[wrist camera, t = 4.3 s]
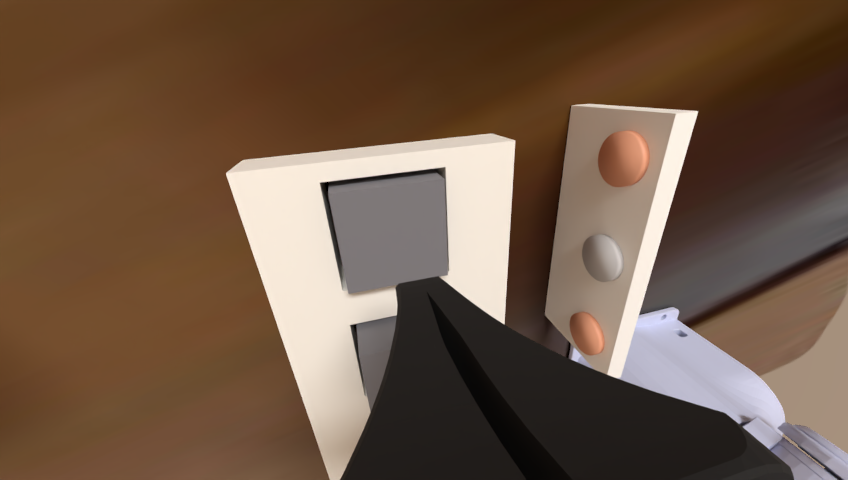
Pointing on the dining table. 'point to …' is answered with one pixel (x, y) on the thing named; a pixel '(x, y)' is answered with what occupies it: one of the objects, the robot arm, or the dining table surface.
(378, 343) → the button middle
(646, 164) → the card
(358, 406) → the button board
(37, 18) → the dining table surface
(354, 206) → the button mug side
